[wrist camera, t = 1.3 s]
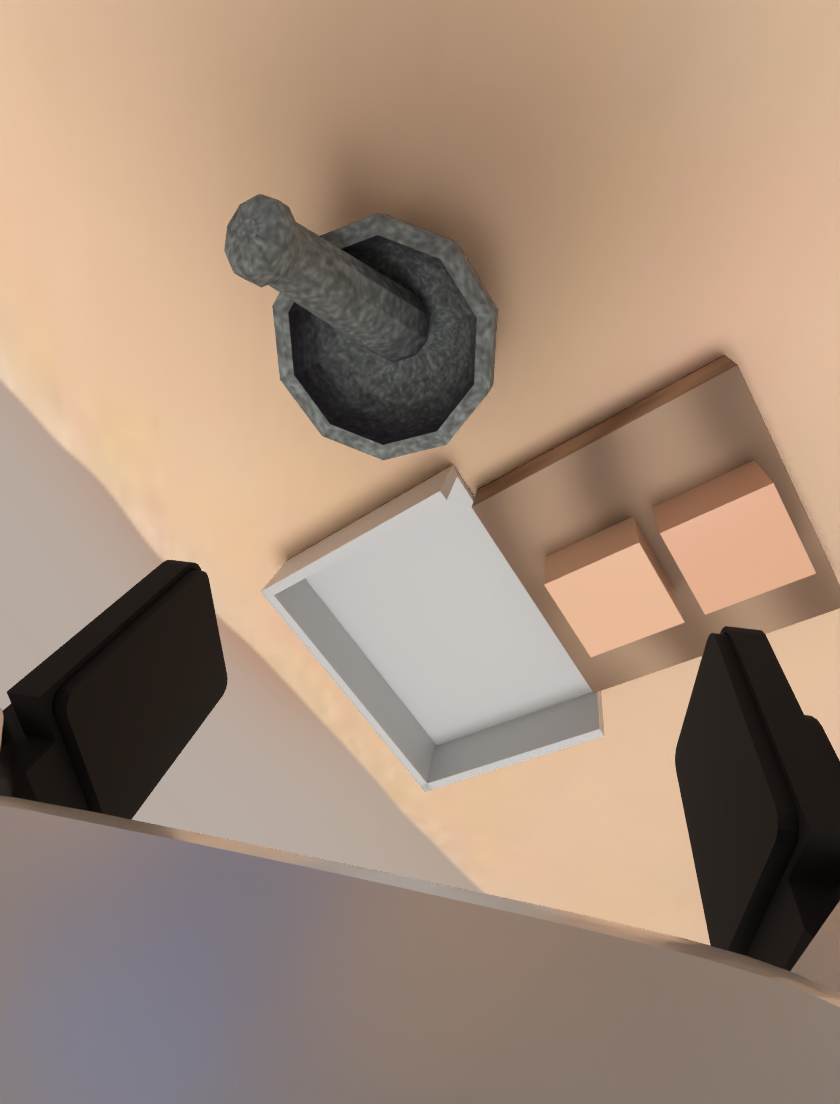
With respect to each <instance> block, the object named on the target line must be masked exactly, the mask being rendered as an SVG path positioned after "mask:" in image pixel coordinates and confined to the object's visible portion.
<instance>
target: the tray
mask: <svg viewBox="0 0 840 1104" xmlns="http://www.w3.org/2000/svg"><path fill="white" fill-rule="evenodd" d="M473 501H474V496H473V495H472V493H471V492H470V490H469V489H468V487H467V486H466V484H465V483H464V481H463V479H462V478H461V476H460V475H459V473H458V472H457V470H456V469H455V467H454V466H453V465H452V466H450V467H448V468H446V469H445V470H443V471H441V472H439V473H438V474H436V475H434V476H433V477H431V478H429V479H427V480H426V481H424V482H422V483H420V484H419V485H417V486H415V487H413V488H412V489H410V490H408V491H407V492H405V493H403V494H401V495H400V496H398V497H396V498H394V499H393V500H391V501H389V502H387V503H386V504H384V505H382V506H381V507H379V508H377V509H375V510H374V511H372V512H370V513H368V514H367V515H365V516H363V517H362V518H360V519H358V520H356V521H355V522H353V523H351V524H349V525H348V526H346V527H344V528H342V529H341V530H339V531H337V532H336V533H334V534H332V535H330V536H329V537H327V538H325V539H323V540H322V541H320V542H318V543H316V544H315V545H313V546H311V547H310V548H308V549H306V550H304V551H303V552H301V553H299V554H297V555H296V556H294V557H292V558H291V559H289V560H287V561H286V562H285V564H284V565H283V566H282V567H281V568H280V570H279V571H278V572H277V573H276V574H275V575H274V577H273V578H272V579H271V580H270V581H269V583H268V584H267V585H266V586H265V587H264V588H263V590H262V591H261V593H262V594H263V595H264V596H265V597H266V599H267V600H268V601H269V602H270V604H271V605H272V606H273V607H274V608H275V610H276V611H277V612H278V613H279V614H280V616H281V617H282V618H283V619H284V621H285V622H286V623H287V624H288V625H289V627H290V628H291V629H292V630H293V632H294V633H295V634H296V635H297V636H298V638H299V639H300V640H301V641H302V642H303V644H304V645H305V646H306V647H307V649H308V650H309V651H310V652H311V653H312V655H313V656H314V657H315V658H316V660H317V661H318V662H319V663H320V664H321V666H322V667H323V668H324V669H325V671H326V672H327V673H328V674H329V675H330V677H331V678H332V679H333V680H334V681H335V683H336V684H337V685H338V686H339V688H340V689H341V690H342V691H343V692H344V694H345V695H346V696H347V697H348V699H349V700H350V701H351V702H352V703H353V705H354V706H355V707H356V708H357V709H358V711H359V712H360V713H361V714H362V716H363V717H364V718H365V719H366V720H367V722H368V723H369V724H370V725H371V727H372V728H373V729H374V730H375V731H376V733H377V734H378V735H379V736H380V738H381V739H382V740H383V741H384V742H385V744H386V745H387V746H388V747H389V748H390V750H391V751H392V752H393V753H394V755H395V756H396V757H397V758H398V759H399V761H400V762H401V763H402V764H403V766H404V767H405V768H406V769H407V770H408V772H409V773H410V774H411V775H412V776H413V778H414V779H415V780H416V781H417V783H418V784H419V785H420V786H421V787H422V789H423V790H424V791H425V792H426V791H429V790H432V789H435V788H439V787H442V786H445V785H448V784H452V783H455V782H458V781H461V780H464V779H468V778H471V777H474V776H477V775H480V774H484V773H487V772H490V771H493V770H497V769H500V768H503V767H506V766H509V765H513V764H516V763H519V762H522V761H525V760H529V759H532V758H535V757H538V756H542V755H545V754H548V753H551V752H554V751H558V750H561V749H564V748H567V747H570V746H574V745H577V744H580V743H583V742H587V741H590V740H593V739H596V738H599V737H603V736H604V726H603V713H602V700H601V691H598V692H596V693H593V691H592V690H591V688H590V687H589V685H588V684H587V682H586V681H585V679H584V678H583V676H582V675H581V673H580V672H579V670H578V669H577V667H576V665H575V664H574V662H573V661H572V659H571V658H570V656H569V655H568V653H567V652H566V650H565V649H564V647H563V646H562V644H561V643H560V641H559V640H558V638H557V637H556V635H555V634H554V632H553V631H552V629H551V627H550V626H549V624H548V623H547V621H546V620H545V618H544V617H543V615H542V614H541V612H540V611H539V609H538V608H537V606H536V605H535V603H534V602H533V600H532V599H531V597H530V596H529V594H528V592H527V591H526V589H525V588H524V586H523V585H522V583H521V582H520V580H519V579H518V577H517V576H516V574H515V573H514V571H513V570H512V568H511V567H510V565H509V564H508V562H507V561H506V559H505V557H504V556H503V554H502V553H501V551H500V550H499V548H498V547H497V545H496V544H495V542H494V541H493V539H492V538H491V536H490V535H489V533H488V532H487V530H486V529H485V527H484V526H483V524H482V523H481V521H480V519H479V518H478V516H477V515H476V513H475V512H474V510H473V509H472V504H473Z"/></svg>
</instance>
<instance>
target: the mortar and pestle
mask: <svg viewBox="0 0 840 1104" xmlns="http://www.w3.org/2000/svg"><path fill="white" fill-rule="evenodd" d="M225 253H226V255H227V258H228V260H229V263H230V265H231V267H232V270H233V272H234V273H235V274H237V275H238V276H240V277H242V278H244V279H245V280H248V281H250V282H252V283H254V284H256V285H258V286H260V287H263V286H266V285H270V286H271V287H273V288H274V289H276V290H277V291H279V292H280V293H279V295H278V297H277V299H276V301H275V303H274V304H273V315H274V325H275V334H276V344H277V354H278V364H279V373H280V380H281V381H282V383H283V384H284V385H285V387H286V388H287V389H288V391H289V392H290V393H291V395H292V396H293V397H294V399H295V400H296V401H297V403H298V404H299V405H300V407H301V408H302V409H303V411H304V412H305V414H306V415H307V416H308V418H309V419H310V420H311V422H312V423H313V424H314V426H315V427H316V428H317V430H318V431H319V432H320V434H321V435H322V436H324V437H326V438H329V439H331V440H334V441H336V442H339V443H341V444H344V445H347V446H349V447H352V448H354V449H357V450H359V451H362V452H364V453H367V454H369V455H372V456H374V457H377V458H379V459H382V460H386V459H390V458H394V457H398V456H402V455H406V454H410V453H414V452H418V451H422V450H427V449H431V448H435V447H439V446H443V445H446V444H447V443H448V442H449V441H450V439H451V438H452V437H453V436H454V434H455V433H456V432H457V431H458V430H459V428H460V427H461V426H462V425H463V423H464V422H465V421H466V420H467V418H468V417H469V416H470V415H471V413H472V412H473V411H474V410H475V409H476V407H477V406H478V405H479V404H480V402H481V401H482V400H483V399H484V397H485V396H486V395H487V394H488V392H489V391H490V389H491V387H492V385H493V379H494V363H495V347H496V330H497V314H498V309H497V307H496V305H495V304H494V302H493V300H492V299H491V297H490V295H489V294H488V292H487V290H486V289H485V287H484V285H483V284H482V282H481V281H480V279H479V277H478V276H477V274H476V272H475V271H474V269H473V267H472V266H471V264H470V262H469V261H468V259H467V257H466V256H465V254H464V252H463V251H462V249H461V248H460V246H459V244H458V243H457V241H454V240H451V239H449V238H446V237H444V236H441V235H438V234H436V233H433V232H431V231H428V230H425V229H423V228H420V227H417V226H415V225H412V224H410V223H407V222H404V221H402V220H399V219H396V218H394V217H391V216H389V215H386V214H375V215H373V216H370V217H368V218H365V219H362V220H360V221H357V222H355V223H352V224H350V225H347V226H344V227H342V228H339V229H337V230H334V231H332V232H329V233H327V234H324V235H321V236H318V235H316V234H315V233H313V232H311V231H310V230H308V229H307V228H305V227H303V226H302V225H300V224H298V223H297V222H295V219H294V217H293V215H292V213H291V210H290V208H289V207H288V206H286V205H285V204H283V203H282V202H281V201H279V200H276V199H273V198H270V197H267V196H264V195H257V196H255V197H253V198H251V199H249V200H247V201H246V202H244V203H242V204H240V205H239V207H238V209H237V211H236V212H235V214H234V216H233V217H232V219H231V221H230V222H229V224H228V226H227V234H226V242H225Z"/></svg>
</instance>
